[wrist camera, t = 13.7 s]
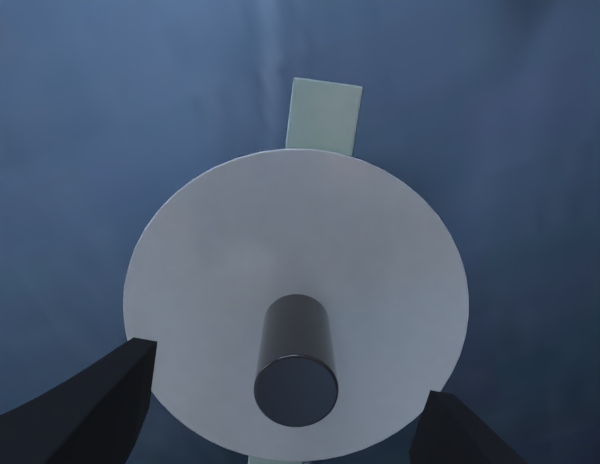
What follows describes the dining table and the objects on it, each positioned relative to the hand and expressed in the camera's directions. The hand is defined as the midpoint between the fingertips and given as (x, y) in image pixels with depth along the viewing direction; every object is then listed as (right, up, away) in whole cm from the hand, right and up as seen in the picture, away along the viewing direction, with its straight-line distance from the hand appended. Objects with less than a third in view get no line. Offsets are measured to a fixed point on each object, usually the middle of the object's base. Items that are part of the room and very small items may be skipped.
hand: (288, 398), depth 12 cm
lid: (0, +1, +5) cm, 5 cm away
